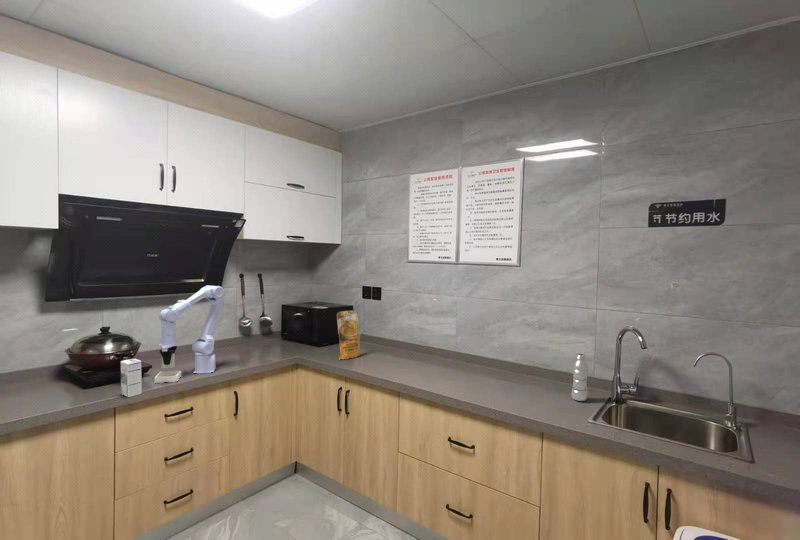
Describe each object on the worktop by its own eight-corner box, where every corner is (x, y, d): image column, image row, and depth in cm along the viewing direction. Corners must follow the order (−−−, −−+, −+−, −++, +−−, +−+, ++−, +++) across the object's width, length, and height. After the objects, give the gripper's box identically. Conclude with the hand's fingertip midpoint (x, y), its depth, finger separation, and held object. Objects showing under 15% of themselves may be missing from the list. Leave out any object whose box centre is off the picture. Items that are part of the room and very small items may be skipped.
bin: (181, 376, 197) (181, 370, 197) (177, 382, 188) (177, 376, 188) (160, 378, 194) (160, 371, 194) (154, 383, 185) (154, 377, 185)
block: (174, 365, 194) (174, 352, 193) (172, 367, 189) (172, 355, 189) (164, 365, 192) (164, 353, 192) (161, 368, 188) (161, 355, 188)
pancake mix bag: (332, 359, 236) (333, 311, 235) (356, 353, 250) (357, 308, 249) (339, 361, 231) (340, 312, 231) (363, 355, 246) (364, 310, 245)
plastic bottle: (568, 400, 175) (570, 354, 175) (574, 396, 180) (576, 351, 179) (583, 404, 171) (585, 357, 170) (589, 400, 175) (591, 354, 175)
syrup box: (142, 393, 172) (142, 359, 172) (127, 397, 167) (127, 362, 166) (135, 391, 175) (135, 358, 174) (120, 395, 170) (120, 360, 169)
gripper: (163, 332, 196) (162, 359, 197) (154, 338, 182) (154, 367, 183) (179, 331, 198) (179, 359, 199) (172, 337, 184) (172, 366, 185)
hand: (168, 363), depth 191 cm, fingers closed on block, 4 cm apart
